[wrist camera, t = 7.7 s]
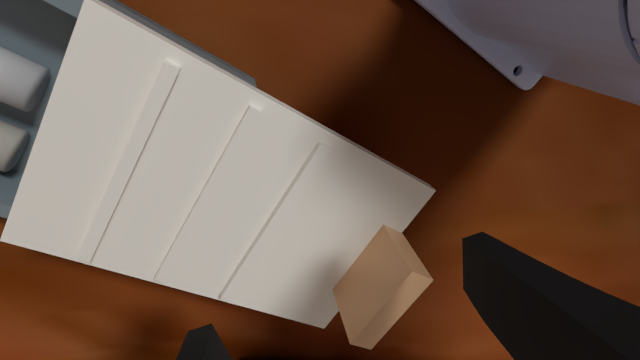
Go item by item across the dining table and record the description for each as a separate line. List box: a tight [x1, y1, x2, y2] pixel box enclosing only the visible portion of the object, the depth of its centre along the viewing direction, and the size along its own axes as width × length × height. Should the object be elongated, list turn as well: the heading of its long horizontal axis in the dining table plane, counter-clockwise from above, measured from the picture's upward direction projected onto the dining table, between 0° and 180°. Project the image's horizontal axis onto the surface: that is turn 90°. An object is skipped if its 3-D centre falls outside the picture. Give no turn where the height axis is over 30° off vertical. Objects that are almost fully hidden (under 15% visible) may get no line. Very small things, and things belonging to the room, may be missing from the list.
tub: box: [0, 0, 257, 219], centre depth 14 cm, size 13×9×3 cm
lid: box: [0, 0, 436, 350], centre depth 14 cm, size 15×10×5 cm, turn 57°
